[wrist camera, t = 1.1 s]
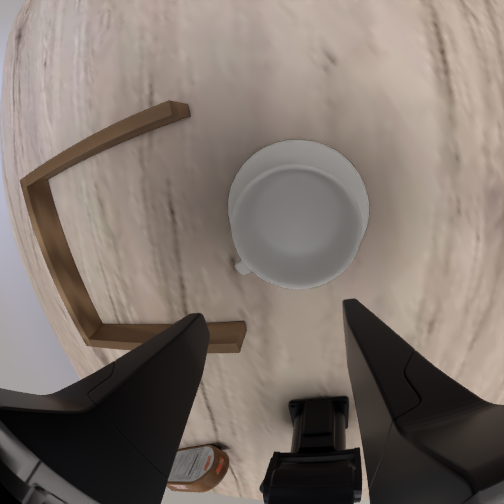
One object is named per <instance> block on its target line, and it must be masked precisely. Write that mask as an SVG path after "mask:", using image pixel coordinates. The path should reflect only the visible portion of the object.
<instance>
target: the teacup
mask: <svg viewBox="0 0 504 504" xmlns="http://www.w3.org/2000/svg"><path fill="white" fill-rule="evenodd" d="M228 217H229V222H230V226H231V232H232V238H233V242H234V245H235V248H236V250H237V253H238V255H239V256H240V257H239V258H238V260H237V261H236V263H235V268H236V270H237V271H238V272H239V273H240V274H242V275H246V274H248V273H250V272H253V273H254V274H255V275H257V276H258V277H259V278H261V279H262V280H264V281H266V282H268V283H270V284H273V285H275V286H278V287H282V288H287V289H309V288H314V287H318V286H321V285H323V284H326V283H328V282H330V281H331V280H333V279H335V278H336V277H338V276H339V275H340V274H341V273H342V272H343V271H344V270H345V269H346V268H347V267H348V266H349V265H350V263H351V262H352V261H353V259H354V257H355V255H356V253H357V251H358V249H359V246H360V242H361V241H362V239H363V237H364V234H365V231H366V228H367V225H368V219H369V199H368V194H367V191H366V187H365V185H364V182H363V180H362V178H361V176H360V174H359V173H358V171H357V170H356V169H355V167H354V166H353V165H352V164H351V162H350V161H349V160H348V159H346V158H345V157H344V156H343V155H342V154H340V153H339V152H337V151H336V150H334V149H332V148H330V147H329V146H326V145H324V144H321V143H318V142H314V141H310V140H300V139H294V140H285V141H280V142H276V143H273V144H271V145H268V146H266V147H264V148H262V149H261V150H259V151H257V152H256V153H254V154H253V155H252V156H251V157H250V158H249V159H248V160H247V161H246V162H245V163H244V164H243V165H242V166H241V168H240V169H239V171H238V172H237V174H236V176H235V178H234V180H233V182H232V185H231V188H230V192H229V197H228Z"/></svg>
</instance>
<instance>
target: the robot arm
mask: <svg viewBox="0 0 504 504" xmlns="http://www.w3.org/2000/svg"><path fill="white" fill-rule="evenodd" d="M342 304H343V321H344V333H345V343H346V354H347V365H348V372H349V377H350V381H351V386H352V391H353V396H354V401H355V406H356V411H357V417H358V422H359V428H360V434H361V440H362V446H363V452H364V459H365V466H366V473H367V480H368V488H369V497H370V504H504V405H498V404H493V403H490V402H487V401H485V400H483V399H481V398H480V397H478V396H477V395H475V394H474V393H472V392H471V391H469V390H468V389H466V388H465V387H464V386H462V385H461V384H459V383H458V382H456V381H455V380H453V379H452V378H450V377H449V376H448V375H446V374H445V373H443V372H442V371H441V370H439V369H438V368H437V367H435V366H434V365H433V364H432V363H430V362H429V361H428V360H427V359H425V358H424V357H423V356H422V355H421V354H420V353H419V352H417V351H415V349H414V348H413V347H412V346H410V345H409V344H408V343H407V342H406V341H405V340H404V339H402V338H401V337H400V336H399V335H398V334H397V333H395V332H394V331H393V330H392V329H391V328H390V327H388V326H387V325H386V324H385V323H384V322H383V321H381V320H380V319H379V318H378V317H377V316H376V315H374V314H373V313H372V312H371V311H370V310H369V309H367V308H366V307H365V306H364V305H363V304H361V303H360V302H359V301H358V300H357V299H347V300H343V303H342ZM209 341H210V332H209V329H208V326H207V324H206V321H205V318H204V316H203V315H202V314H201V313H191V314H189V315H187V316H186V317H184V318H183V319H181V320H179V321H178V322H176V323H175V324H173V325H171V326H170V327H168V328H167V329H165V330H163V331H162V332H160V333H159V334H157V335H155V336H154V337H152V338H151V339H149V340H147V341H146V342H144V343H143V344H141V345H139V346H138V347H136V348H135V349H133V350H131V351H130V352H128V353H126V354H125V355H123V356H122V357H120V358H118V359H117V360H116V361H113V362H112V363H110V364H108V365H107V366H105V367H103V368H102V369H100V370H98V371H96V372H95V373H93V374H91V375H89V376H87V377H85V378H83V379H82V380H80V381H78V382H76V383H74V384H72V385H70V386H68V387H66V388H64V389H62V390H60V391H58V392H55V393H53V394H49V395H35V394H29V393H23V392H17V391H12V390H6V389H1V388H0V504H161V501H162V498H163V495H164V492H165V488H166V485H167V482H168V478H169V476H170V472H171V469H172V466H173V463H174V460H175V457H176V454H177V451H178V448H179V445H180V442H181V438H182V435H183V432H184V429H185V426H186V423H187V420H188V417H189V414H190V411H191V408H192V405H193V402H194V399H195V396H196V393H197V390H198V387H199V384H200V381H201V377H202V374H203V370H204V365H205V360H206V355H207V351H208V346H209ZM289 411H290V415H291V419H292V423H293V427H294V430H293V438H292V446H291V453H280V452H274V454H273V457H272V458H271V460H270V463H269V466H268V469H267V472H266V475H265V478H264V480H263V482H262V484H261V485H260V491H261V492H262V493H263V499H264V503H265V504H354V503H356V502H360V501H361V494H362V468H361V456H360V447H358V448H354V449H347V450H346V437H345V429H347V428H348V412H349V399H348V398H347V397H339V398H329V399H317V400H301V401H290V402H289Z"/></svg>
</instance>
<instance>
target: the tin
mask: <svg viewBox="0 0 504 504" xmlns="http://www.w3.org/2000/svg"><path fill="white" fill-rule="evenodd" d="M228 467H229V457H228V455H227V454H226V453H225V452H224V451H221V450H220V449H218V448H217V447H215V446H213V445H203V446H197V447H190V448H184V449H179V450H178V451H177V454H176V457H175V460H174V463H173V466H172V469H171V472H170V476H169V478H168V482H167V485H166V487H168V488H169V489H171V490H172V491H181V492H206V491H209V490H211V489H212V488H214V487H215V486H217V485H218V484H219V483H220V482H221V480H222V479H223V478H224V476H225V475H226V473H227V470H228Z"/></svg>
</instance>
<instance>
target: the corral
mask: <svg viewBox="0 0 504 504" xmlns="http://www.w3.org/2000/svg"><path fill="white" fill-rule="evenodd" d="M188 117H190V112H189V108H188V104H184V103H179V102H174V101H166V102H164V103H161V104H159V105H156V106H154V107H151V108H149V109H146V110H144V111H142V112H139V113H137V114H135V115H132V116H130V117H128V118H126V119H124V120H121V121H119V122H117V123H115V124H113V125H111V126H109V127H107V128H105V129H103V130H101V131H99V132H97V133H95V134H93V135H91V136H90V137H88V138H86V139H84V140H82V141H80V142H79V143H77V144H75V145H73V146H72V147H70V148H68V149H67V150H65V151H63V152H62V153H60V154H58V155H57V156H55V157H53V158H52V159H50V160H49V161H47V162H46V163H44V164H43V165H41V166H39V167H38V168H37V169H35V170H34V171H32V172H31V173H29V174H28V175H26V176H25V177H24V178H22V179H21V180H20V183H21V187H22V191H23V195H24V199H25V202H26V206H27V209H28V213H29V216H30V219H31V223H32V226H33V229H34V232H35V235H36V238H37V240H38V243H39V246H40V249H41V251H42V254H43V257H44V259H45V262H46V264H47V267H48V269H49V271H50V274H51V276H52V279H53V281H54V283H55V285H56V288H57V290H58V292H59V294H60V296H61V298H62V300H63V302H64V305H65V307H66V309H67V311H68V313H69V314H70V316H71V318H72V320H73V322H74V324H75V326H76V328H77V330H78V331H79V333H80V335H81V337H82V339H83V340H84V342H85V344H86V345H87V346H91V347H100V348H110V349H122V350H133V349H135V348H136V347H138V346H139V345H141V344H143V343H144V342H146V341H147V340H149V339H151V338H152V337H154V336H155V335H157V334H159V333H160V332H162V331H163V330H165V329H167V328H168V327H170V326H171V325H173V324H102V322H101V320H100V318H99V316H98V314H97V312H96V310H95V308H94V306H93V304H92V302H91V300H90V297H89V295H88V293H87V291H86V289H85V286H84V284H83V282H82V279H81V277H80V275H79V272H78V270H77V267H76V265H75V263H74V260H73V257H72V255H71V252H70V250H69V247H68V244H67V241H66V239H65V236H64V233H63V230H62V227H61V224H60V221H59V218H58V215H57V211H56V208H55V205H54V201H53V198H52V194H51V191H50V187H49V183H48V179H50V178H51V177H53V176H55V175H57V174H59V173H60V172H62V171H64V170H66V169H68V168H70V167H71V166H73V165H75V164H77V163H79V162H81V161H83V160H85V159H87V158H89V157H91V156H93V155H95V154H97V153H100V152H102V151H104V150H106V149H108V148H110V147H113V146H115V145H117V144H119V143H122V142H124V141H126V140H129V139H131V138H134V137H136V136H139V135H141V134H144V133H146V132H149V131H151V130H154V129H157V128H159V127H162V126H165V125H168V124H170V123H173V122H176V121H179V120H182V119H185V118H188ZM206 324H207V326H208V329H209V332H210V341H209V346H208V351H207V353H240V350H241V347H242V344H243V340H244V337H245V334H246V331H247V329H246V325H245V322H244V321H237V322H219V323H206Z"/></svg>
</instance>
